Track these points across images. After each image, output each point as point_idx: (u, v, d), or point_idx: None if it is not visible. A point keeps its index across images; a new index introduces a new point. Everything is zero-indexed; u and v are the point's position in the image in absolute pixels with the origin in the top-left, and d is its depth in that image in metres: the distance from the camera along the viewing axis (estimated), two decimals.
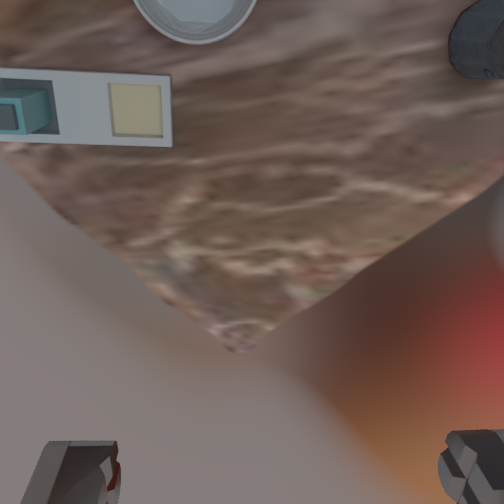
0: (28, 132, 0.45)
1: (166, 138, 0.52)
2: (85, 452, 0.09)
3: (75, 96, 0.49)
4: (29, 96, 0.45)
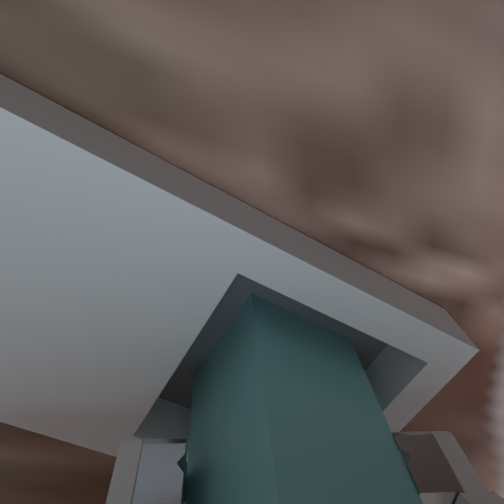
0: None
1: None
2: (160, 450, 0.09)
3: (73, 368, 0.11)
4: None
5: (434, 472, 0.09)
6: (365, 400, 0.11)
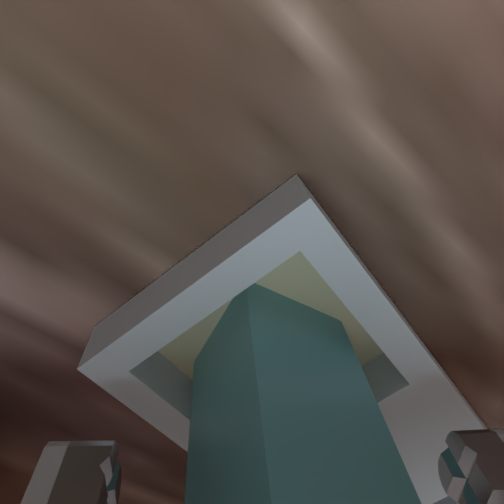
0: None
1: (291, 240, 0.11)
2: (85, 452, 0.09)
3: None
4: None
5: None
6: (353, 374, 0.12)
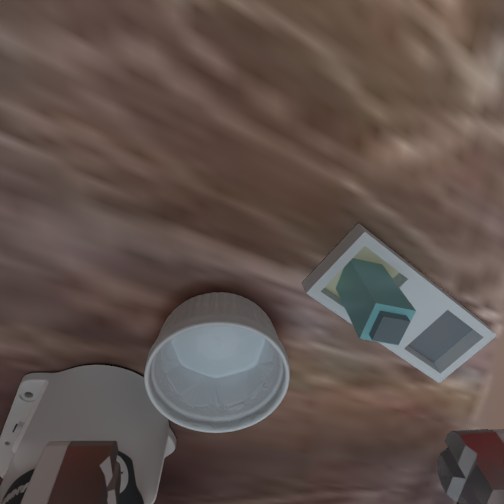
0: (372, 300, 0.35)
1: (361, 243, 0.39)
2: (85, 452, 0.09)
3: None
4: (351, 320, 0.38)
5: None
6: (387, 277, 0.40)
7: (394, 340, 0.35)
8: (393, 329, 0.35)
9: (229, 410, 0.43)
